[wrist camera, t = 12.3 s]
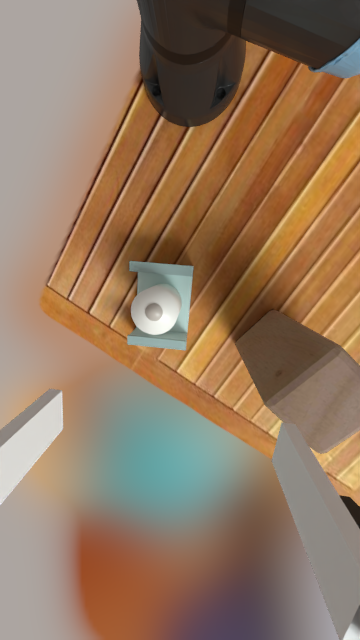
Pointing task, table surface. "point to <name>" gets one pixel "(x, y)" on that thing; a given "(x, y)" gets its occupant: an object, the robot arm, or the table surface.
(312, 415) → the wooden block
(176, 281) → the cradle
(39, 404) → the robot arm
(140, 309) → the roll
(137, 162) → the table surface
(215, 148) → the table surface
